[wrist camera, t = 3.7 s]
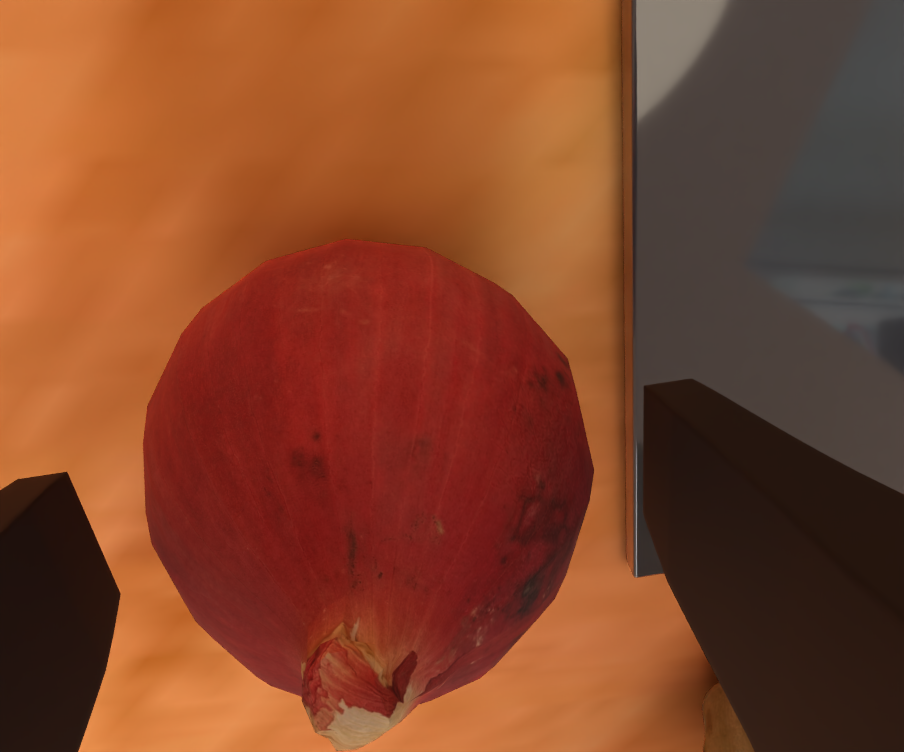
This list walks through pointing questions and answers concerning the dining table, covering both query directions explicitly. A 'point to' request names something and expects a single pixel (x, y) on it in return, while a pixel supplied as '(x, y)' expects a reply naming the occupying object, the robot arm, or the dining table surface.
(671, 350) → the slate board
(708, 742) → the fennel bulb
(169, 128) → the dining table surface
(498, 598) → the onion
